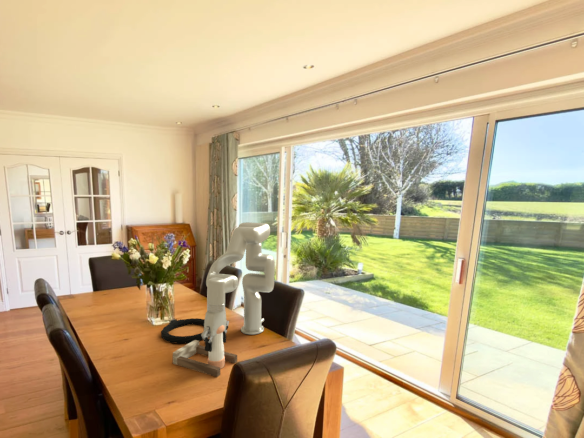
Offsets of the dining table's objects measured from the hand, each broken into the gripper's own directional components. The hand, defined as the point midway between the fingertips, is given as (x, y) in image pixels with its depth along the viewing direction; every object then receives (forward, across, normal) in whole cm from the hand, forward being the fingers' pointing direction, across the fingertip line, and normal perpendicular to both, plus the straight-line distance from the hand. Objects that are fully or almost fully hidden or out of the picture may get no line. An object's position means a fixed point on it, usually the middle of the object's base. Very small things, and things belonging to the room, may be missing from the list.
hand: (215, 346), depth 136 cm
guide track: (+9, 0, -6) cm, 11 cm away
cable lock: (+9, -22, -36) cm, 43 cm away
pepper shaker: (+9, 0, 0) cm, 9 cm away
